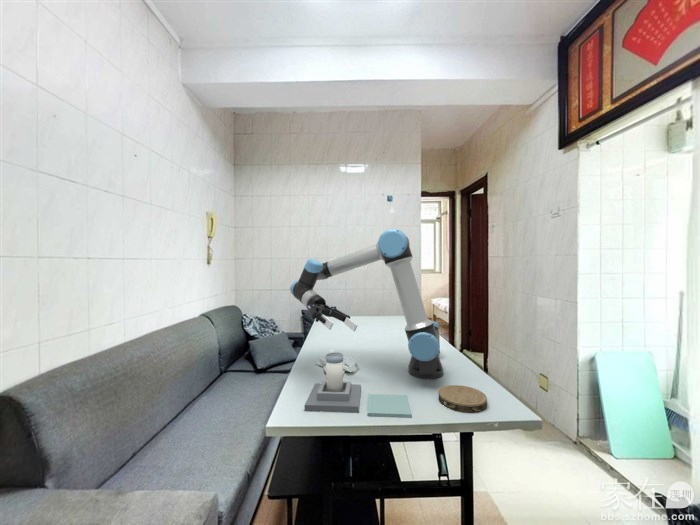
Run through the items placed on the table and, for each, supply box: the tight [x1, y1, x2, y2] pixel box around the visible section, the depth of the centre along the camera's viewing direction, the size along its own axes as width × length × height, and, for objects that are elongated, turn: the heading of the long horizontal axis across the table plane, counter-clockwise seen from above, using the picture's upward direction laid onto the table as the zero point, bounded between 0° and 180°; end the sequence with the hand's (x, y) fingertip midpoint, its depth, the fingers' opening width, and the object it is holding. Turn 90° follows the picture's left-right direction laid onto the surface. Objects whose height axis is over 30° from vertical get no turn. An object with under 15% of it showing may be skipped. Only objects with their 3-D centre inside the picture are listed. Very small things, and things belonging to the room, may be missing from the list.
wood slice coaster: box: [438, 384, 488, 414], centre depth 105 cm, size 16×16×3 cm
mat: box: [367, 393, 413, 418], centre depth 102 cm, size 14×14×1 cm
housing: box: [304, 380, 362, 414], centre depth 107 cm, size 18×18×4 cm
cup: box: [325, 352, 344, 392], centre depth 107 cm, size 6×6×14 cm
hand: (344, 327), depth 114 cm, fingers open, 13 cm apart
